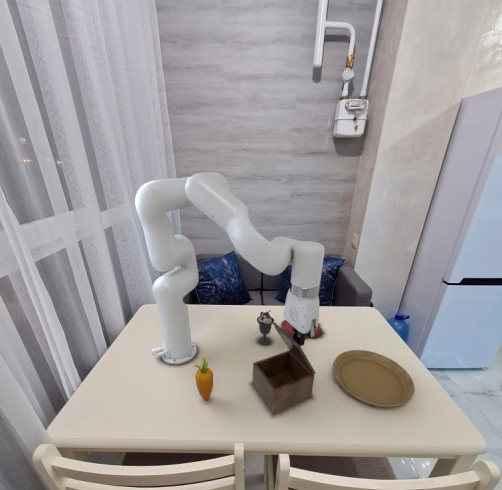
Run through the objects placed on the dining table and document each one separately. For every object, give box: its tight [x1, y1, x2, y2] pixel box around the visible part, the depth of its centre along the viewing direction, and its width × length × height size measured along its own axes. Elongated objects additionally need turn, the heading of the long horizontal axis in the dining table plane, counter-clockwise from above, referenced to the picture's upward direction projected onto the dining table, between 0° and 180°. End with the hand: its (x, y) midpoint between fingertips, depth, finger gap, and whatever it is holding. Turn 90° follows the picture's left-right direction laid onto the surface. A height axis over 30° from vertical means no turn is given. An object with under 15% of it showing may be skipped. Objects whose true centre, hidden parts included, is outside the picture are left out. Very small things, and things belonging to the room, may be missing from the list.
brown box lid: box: [272, 321, 316, 375], centre depth 77 cm, size 14×13×1 cm
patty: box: [280, 319, 324, 339], centre depth 112 cm, size 18×14×2 cm
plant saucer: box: [332, 349, 416, 409], centre depth 85 cm, size 24×24×3 cm
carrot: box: [193, 357, 214, 402], centre depth 75 cm, size 5×5×15 cm
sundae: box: [256, 309, 275, 346], centre depth 101 cm, size 7×7×15 cm
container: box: [252, 350, 316, 415], centre depth 80 cm, size 14×13×9 cm
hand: (298, 344), depth 77 cm, fingers closed
